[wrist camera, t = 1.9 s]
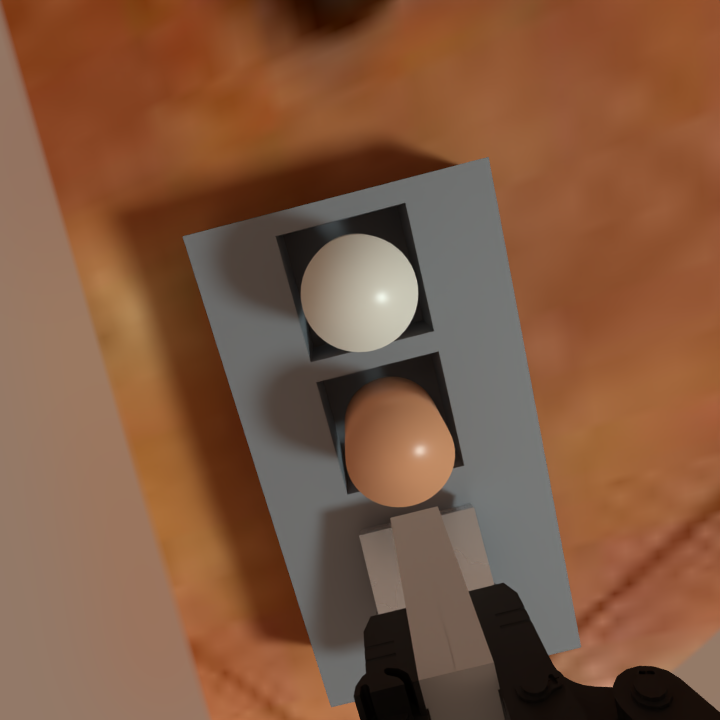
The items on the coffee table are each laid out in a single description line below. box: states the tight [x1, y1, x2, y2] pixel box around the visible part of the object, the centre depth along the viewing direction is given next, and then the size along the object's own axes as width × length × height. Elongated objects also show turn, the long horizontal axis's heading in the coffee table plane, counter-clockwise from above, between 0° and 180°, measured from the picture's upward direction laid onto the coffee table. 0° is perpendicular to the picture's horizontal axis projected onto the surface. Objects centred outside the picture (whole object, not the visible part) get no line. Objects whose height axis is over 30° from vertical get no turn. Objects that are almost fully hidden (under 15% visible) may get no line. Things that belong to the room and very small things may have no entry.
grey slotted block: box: [183, 157, 581, 707], centre depth 30 cm, size 26×14×6 cm, turn 14°
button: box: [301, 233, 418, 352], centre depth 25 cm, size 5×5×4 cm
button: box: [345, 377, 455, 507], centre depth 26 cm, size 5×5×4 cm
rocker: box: [359, 503, 496, 615], centre depth 28 cm, size 9×6×2 cm, turn 14°
